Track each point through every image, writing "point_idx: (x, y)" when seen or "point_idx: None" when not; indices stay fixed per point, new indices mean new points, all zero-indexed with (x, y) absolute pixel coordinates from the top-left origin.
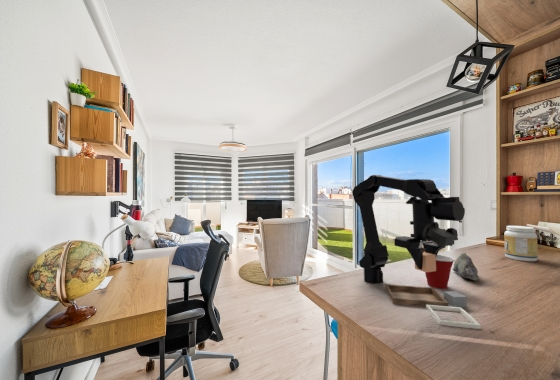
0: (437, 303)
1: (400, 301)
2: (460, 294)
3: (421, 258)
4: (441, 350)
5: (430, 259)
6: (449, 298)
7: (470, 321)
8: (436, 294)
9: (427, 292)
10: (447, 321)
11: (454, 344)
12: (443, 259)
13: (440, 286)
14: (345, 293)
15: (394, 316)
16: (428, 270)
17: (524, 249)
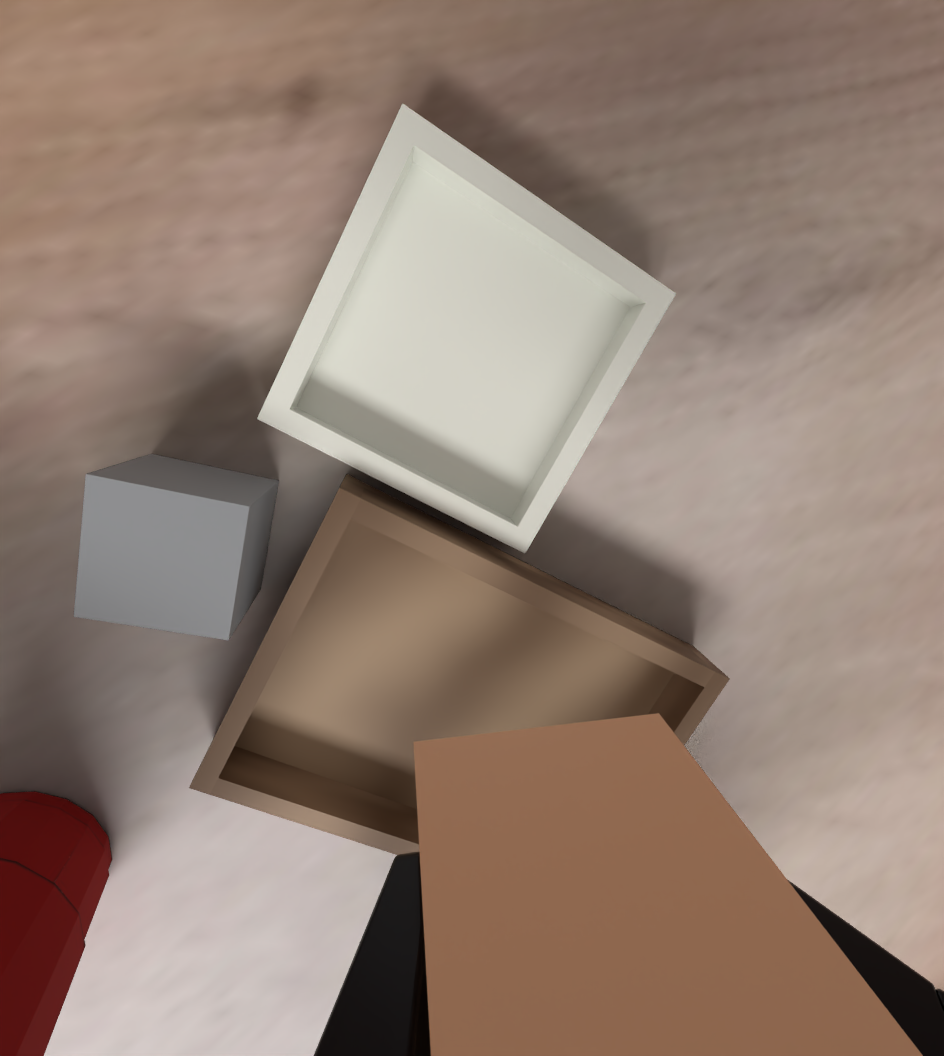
0: (426, 527)
1: (671, 645)
2: (101, 536)
3: (928, 1025)
4: (896, 76)
5: (649, 976)
6: (251, 549)
7: (372, 242)
8: (273, 669)
9: (264, 758)
10: (621, 264)
11: (755, 92)
12: None
13: (35, 824)
14: (845, 862)
15: (806, 520)
16: (615, 740)
17: None
